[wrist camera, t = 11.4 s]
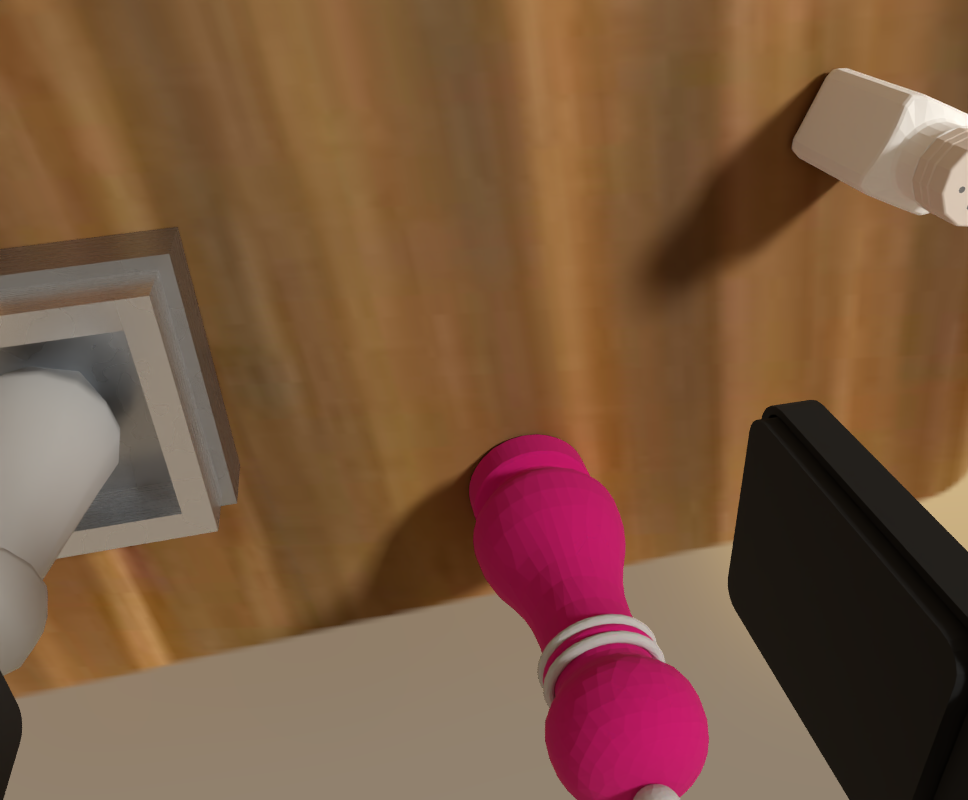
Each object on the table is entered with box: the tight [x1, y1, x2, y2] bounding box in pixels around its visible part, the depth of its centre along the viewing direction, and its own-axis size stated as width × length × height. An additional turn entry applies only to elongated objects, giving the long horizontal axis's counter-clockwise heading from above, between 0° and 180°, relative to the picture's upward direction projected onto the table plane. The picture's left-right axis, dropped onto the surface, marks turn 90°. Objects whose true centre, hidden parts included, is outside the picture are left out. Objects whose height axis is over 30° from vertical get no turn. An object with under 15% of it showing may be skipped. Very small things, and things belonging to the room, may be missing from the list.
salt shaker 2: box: [792, 68, 968, 226], centre depth 35 cm, size 4×4×10 cm
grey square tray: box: [0, 227, 240, 559], centre depth 35 cm, size 12×13×6 cm
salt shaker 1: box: [0, 366, 120, 676], centre depth 30 cm, size 6×6×13 cm
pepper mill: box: [469, 434, 709, 800], centre depth 37 cm, size 7×7×20 cm
